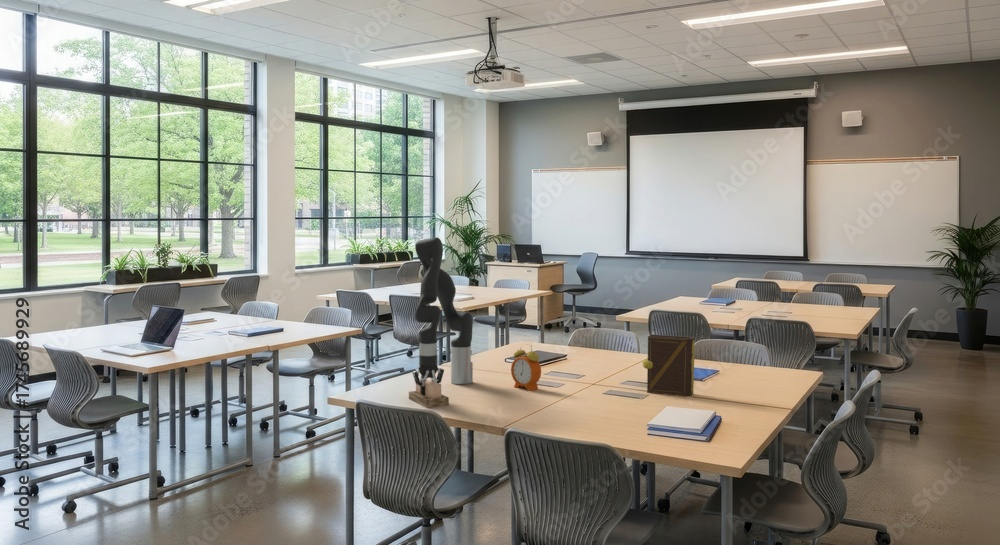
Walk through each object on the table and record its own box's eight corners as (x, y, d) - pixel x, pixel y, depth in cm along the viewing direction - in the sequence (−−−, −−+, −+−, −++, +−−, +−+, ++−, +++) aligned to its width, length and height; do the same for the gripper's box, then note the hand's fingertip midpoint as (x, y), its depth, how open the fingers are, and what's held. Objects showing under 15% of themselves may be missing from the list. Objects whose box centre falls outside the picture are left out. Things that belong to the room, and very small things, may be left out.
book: (694, 393, 338) (695, 336, 336) (690, 397, 330) (691, 339, 328) (645, 388, 347) (645, 333, 345) (640, 392, 339) (641, 336, 338)
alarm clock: (510, 387, 350) (510, 343, 349) (519, 385, 355) (519, 341, 353) (532, 391, 341) (532, 346, 340) (541, 389, 346) (541, 345, 344)
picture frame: (430, 396, 332) (430, 389, 332) (448, 404, 317) (448, 397, 316) (408, 398, 327) (408, 391, 327) (426, 407, 312) (426, 400, 311)
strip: (424, 392, 329) (424, 378, 328) (441, 398, 317) (441, 384, 317) (415, 393, 326) (415, 379, 326) (432, 399, 315) (432, 385, 315)
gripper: (439, 350, 327) (440, 390, 329) (408, 353, 320) (409, 394, 322) (447, 353, 321) (447, 394, 322) (416, 356, 314) (416, 398, 315)
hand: (428, 394), depth 322 cm, fingers closed on strip, 4 cm apart
